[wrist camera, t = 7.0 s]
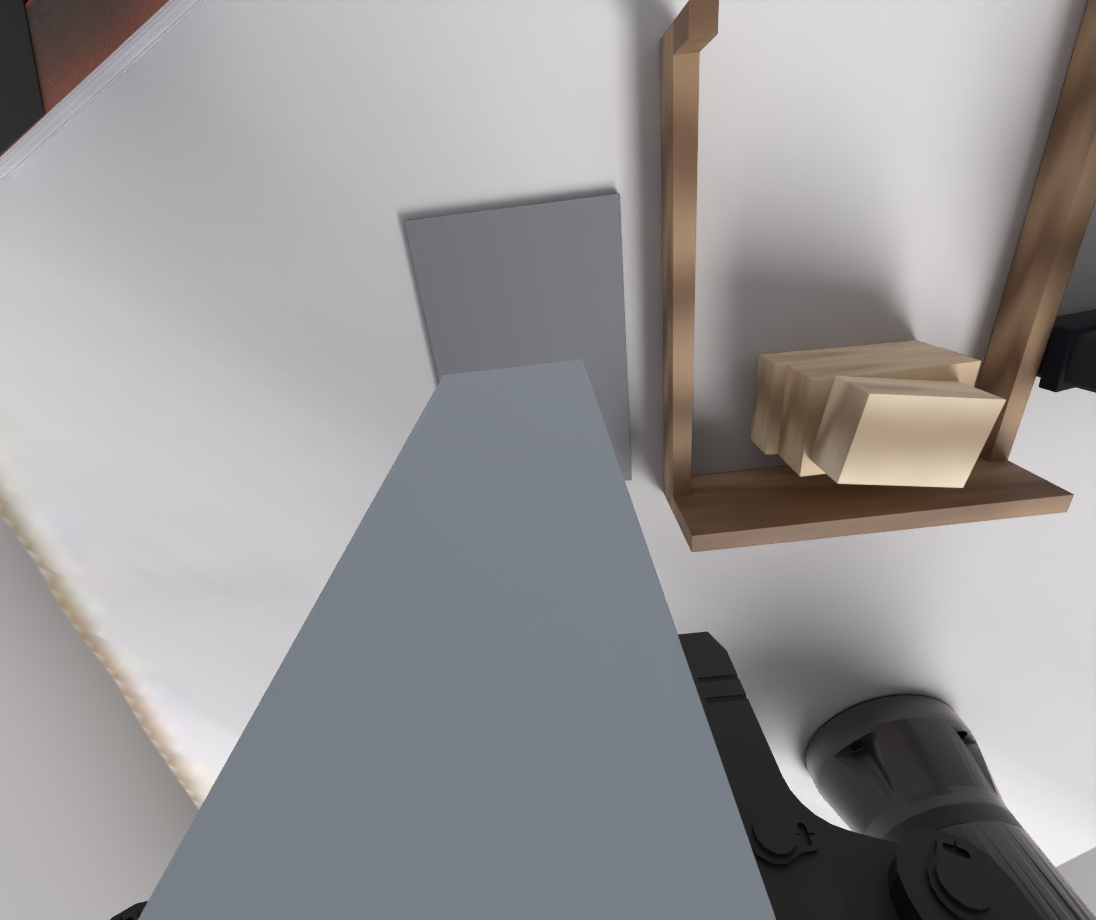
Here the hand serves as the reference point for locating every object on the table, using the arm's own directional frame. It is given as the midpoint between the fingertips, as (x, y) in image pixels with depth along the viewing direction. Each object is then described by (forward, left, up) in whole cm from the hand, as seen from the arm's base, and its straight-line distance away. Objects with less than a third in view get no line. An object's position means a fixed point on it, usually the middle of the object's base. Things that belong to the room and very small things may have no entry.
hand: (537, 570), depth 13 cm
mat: (0, 0, -20) cm, 20 cm away
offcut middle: (-4, -19, -18) cm, 27 cm away
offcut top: (-4, -19, -15) cm, 25 cm away
